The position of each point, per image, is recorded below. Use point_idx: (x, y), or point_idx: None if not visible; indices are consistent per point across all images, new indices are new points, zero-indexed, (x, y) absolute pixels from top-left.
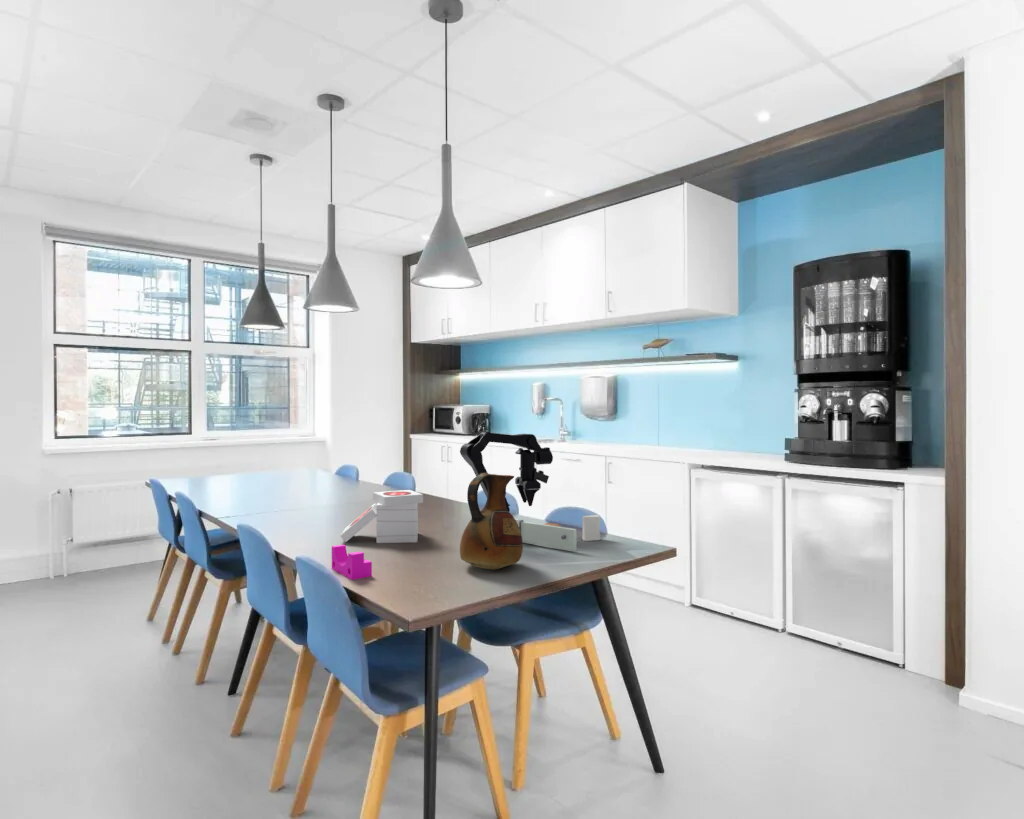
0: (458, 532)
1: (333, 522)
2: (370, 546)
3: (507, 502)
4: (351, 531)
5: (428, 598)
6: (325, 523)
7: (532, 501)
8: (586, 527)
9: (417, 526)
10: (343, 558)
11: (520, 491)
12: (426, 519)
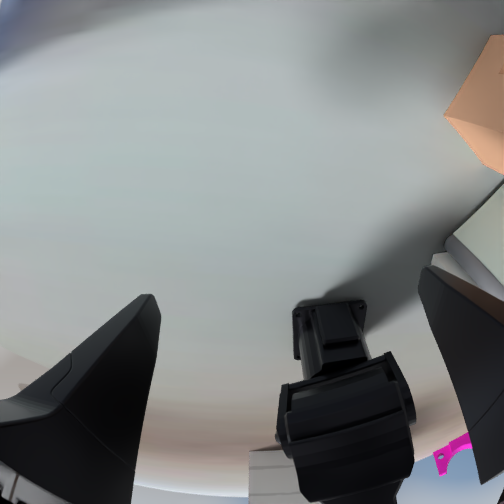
0: (208, 405)
1: (136, 483)
2: None
3: (408, 436)
4: None
5: None
6: (146, 486)
7: (472, 289)
8: None
9: (282, 474)
10: (450, 458)
11: (132, 450)
12: None
